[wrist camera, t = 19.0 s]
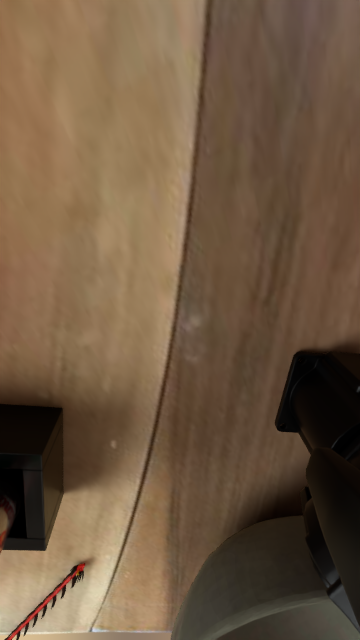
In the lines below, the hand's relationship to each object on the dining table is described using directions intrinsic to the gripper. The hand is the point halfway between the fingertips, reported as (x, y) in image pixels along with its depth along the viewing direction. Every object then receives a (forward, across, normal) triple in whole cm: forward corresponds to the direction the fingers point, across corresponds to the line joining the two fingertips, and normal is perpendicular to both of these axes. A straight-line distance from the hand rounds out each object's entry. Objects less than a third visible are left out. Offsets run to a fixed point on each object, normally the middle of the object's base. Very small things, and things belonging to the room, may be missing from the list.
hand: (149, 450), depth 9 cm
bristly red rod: (+12, +10, +34) cm, 37 cm away
